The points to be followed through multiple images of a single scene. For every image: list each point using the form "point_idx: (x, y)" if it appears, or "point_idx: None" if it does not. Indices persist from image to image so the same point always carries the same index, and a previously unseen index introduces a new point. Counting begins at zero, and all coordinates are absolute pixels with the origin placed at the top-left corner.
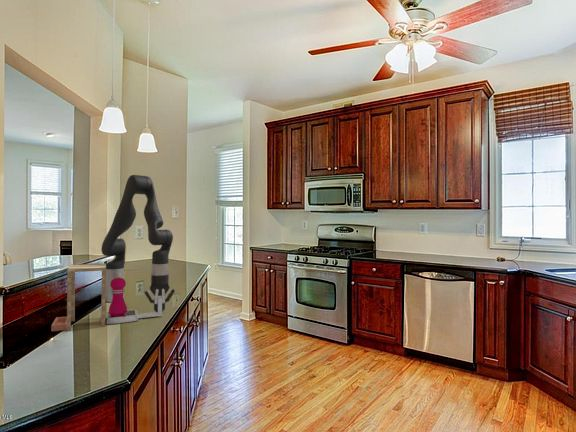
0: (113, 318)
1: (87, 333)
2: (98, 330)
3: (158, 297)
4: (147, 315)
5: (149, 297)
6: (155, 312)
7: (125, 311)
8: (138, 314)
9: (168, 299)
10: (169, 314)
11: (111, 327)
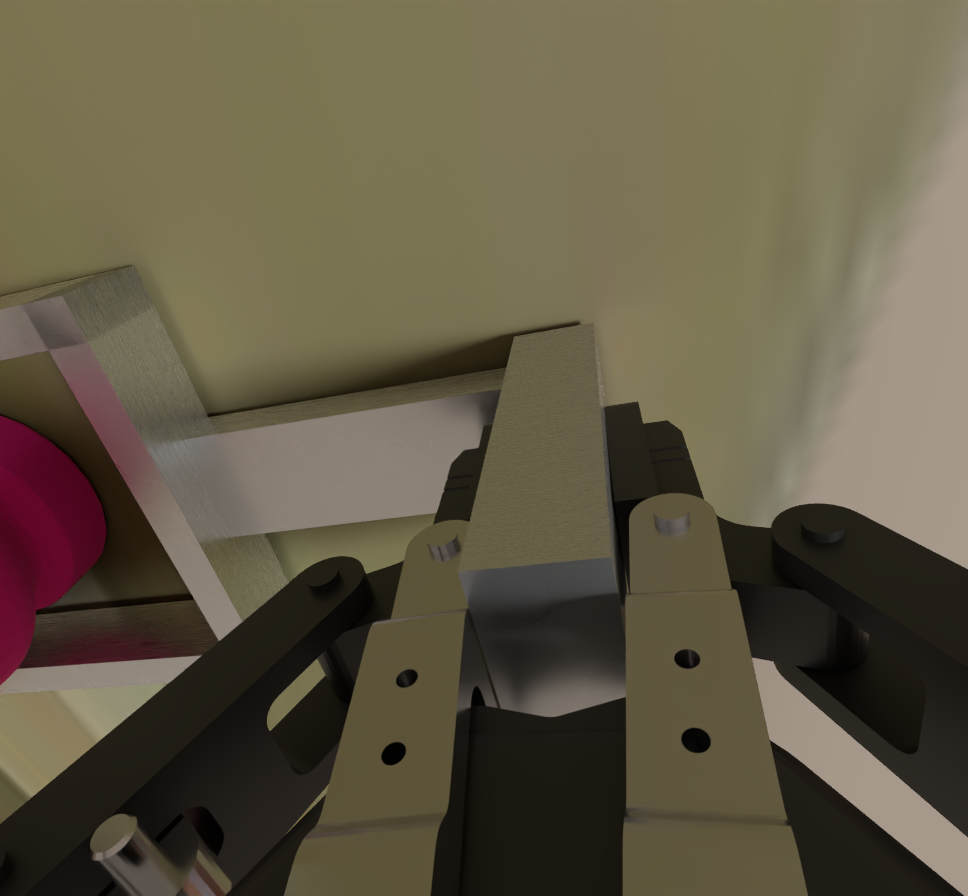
0: (6, 686)
1: (3, 787)
2: (41, 751)
3: (529, 675)
4: (378, 511)
5: (280, 807)
6: (491, 420)
7: (26, 637)
8: (217, 473)
9: (847, 678)
10: (764, 354)
11: (107, 712)
